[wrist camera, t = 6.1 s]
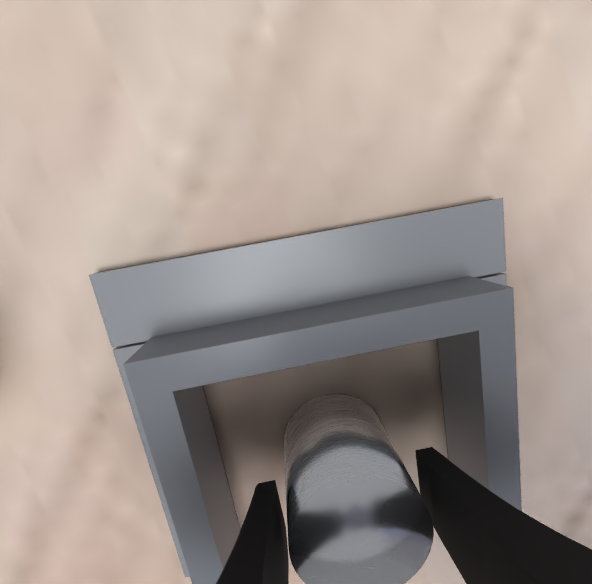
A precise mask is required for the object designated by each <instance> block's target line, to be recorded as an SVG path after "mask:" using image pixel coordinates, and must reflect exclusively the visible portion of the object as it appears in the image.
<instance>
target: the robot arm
mask: <svg viewBox="0 0 592 584" xmlns="http://www.w3.org/2000/svg"><path fill="white" fill-rule="evenodd" d="M415 451H416V460H417V469H418V477H419V486H420V494H421V497H422V499H423V501H424V503H425V505H426V507H427V508H428V510H429V512H430V515H431V518H432V522H433V526H434V528H435V530H436V532H437V533H438V535H439V537H440V539H441V540H442V542H443V544H444V546H445V547H446V549H447V551H448V553H449V554H450V556H451V558H452V560H453V561H454V563H455V565H456V566H457V568H458V570H459V572H460V573H461V575H462V577H463V578H464V580H465V582H466V584H592V550H591V549H589V548H587V547H585V546H583V545H581V544H579V543H577V542H575V541H573V540H571V539H569V538H567V537H566V536H564V535H562V534H560V533H558V532H556V531H554V530H553V529H551V528H549V527H547V526H546V525H544V524H542V523H540V522H539V521H537V520H535V519H533V518H532V517H530V516H528V515H526V514H525V513H523V512H522V511H520V510H518V509H517V508H515V507H514V506H512V505H511V504H509V503H508V502H506V501H504V500H503V499H501V498H500V497H498V496H497V495H496V494H494V493H493V492H491V491H490V490H488V489H487V488H486V487H484V486H483V485H481V484H480V483H479V482H477V481H476V480H474V479H473V478H472V477H470V476H469V475H468V474H466V473H465V472H464V471H462V470H461V469H460V468H458V467H457V466H456V465H455V464H453V463H452V462H451V461H449V460H448V459H447V458H446V457H444V456H443V455H442V454H440V453H439V452H438V451H437V450H435V449H434V448H432V447H430V448H425V449H420V450H415ZM216 584H288V549H287V537H286V526H285V522H284V517H283V513H282V509H281V504H280V500H279V495H278V491H277V487H276V482H275V480H273V481H269V482H264V483H259V484H258V485H257V486H256V488H255V491H254V495H253V498H252V501H251V504H250V507H249V510H248V512H247V515H246V518H245V520H244V523H243V525H242V528H241V530H240V533H239V535H238V538H237V540H236V542H235V545H234V547H233V549H232V551H231V553H230V556H229V558H228V560H227V562H226V564H225V566H224V568H223V571H222V573H221V575H220V576H219V578H218V580H217V582H216Z"/></svg>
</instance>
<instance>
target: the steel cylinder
mask: <svg viewBox="0 0 592 584" xmlns="http://www.w3.org/2000/svg"><path fill="white" fill-rule="evenodd" d="M284 458H285V480H286V501H287V522H288V543H289V554H290V559H291V562H292V565H293V567H294V569H295V571H296V573H297V574H298V575H299V577H300V578H301V579H302V580H303V581H304V582H305V583H306V584H404V583H406V582H407V581H408V580H409V579H411V578H412V577H413V576H414V575H415V574H416V573H417V572H418V570H419V569H420V568H421V567H422V565H423V564H424V562H425V560H426V559H427V557H428V555H429V552H430V550H431V546H432V542H433V535H434V533H433V522H432V518H431V515H430V512H429V510H428V508H427V507H426V505H425V503H424V501H423V499H422V497H421V495H420V494H419V492H418V490H417V488H416V486H415V484H414V483H413V481H412V479H411V477H410V475H409V473H408V472H407V470H406V468H405V466H404V464H403V462H402V461H401V459H400V457H399V455H398V453H397V451H396V449H395V448H394V446H393V444H392V442H391V440H390V438H389V437H388V435H387V433H386V431H385V429H384V427H383V426H382V424H381V422H380V420H379V418H378V416H377V415H376V413H375V412H374V410H373V409H372V408H371V407H370V406H369V405H368V404H367V403H365V402H364V401H362V400H360V399H358V398H356V397H353V396H350V395H346V394H328V395H323V396H319V397H317V398H314V399H312V400H310V401H308V402H307V403H305V404H304V405H302V406H301V407H300V408H299V409H298V410H297V411H296V412H295V413H294V414H293V416H292V417H291V419H290V420H289V422H288V424H287V427H286V430H285V434H284Z"/></svg>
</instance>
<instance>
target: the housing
mask: <svg viewBox="0 0 592 584" xmlns="http://www.w3.org/2000/svg"><path fill="white" fill-rule="evenodd" d="M505 271H506V259H505V236H504V212H503V198H501V199H492V200H486V201H481V202H476V203H470V204H465V205H460V206H454V207H449V208H443V209H438V210H433V211H427V212H422V213H416V214H411V215H406V216H400V217H395V218H389V219H384V220H379V221H373V222H368V223H362V224H357V225H352V226H346V227H341V228H336V229H330V230H325V231H319V232H314V233H309V234H303V235H298V236H292V237H287V238H282V239H276V240H271V241H265V242H260V243H255V244H249V245H244V246H238V247H233V248H228V249H222V250H217V251H212V252H206V253H201V254H195V255H190V256H185V257H179V258H174V259H168V260H163V261H158V262H152V263H147V264H141V265H136V266H131V267H125V268H120V269H115V270H109V271H104V272H98V273H95V274H91V275H89V277H90V280H91V283H92V286H93V290H94V293H95V296H96V299H97V302H98V305H99V308H100V312H101V315H102V318H103V321H104V324H105V327H106V330H107V333H108V337H109V340H110V343H111V346H112V348H113V347H116V348H115V349H114V350H113V352H114V355H115V358H116V362H117V365H118V368H119V371H120V374H121V377H122V380H123V384H124V387H125V390H126V393H127V396H128V399H129V402H130V405H131V409H132V412H133V415H134V418H135V421H136V424H137V427H138V431H139V434H140V437H141V440H142V443H143V446H144V449H145V452H146V456H147V459H148V462H149V465H150V468H151V471H152V474H153V478H154V481H155V484H156V487H157V490H158V493H159V496H160V499H161V503H162V506H163V509H164V512H165V515H166V518H167V521H168V525H169V528H170V531H171V534H172V537H173V540H174V543H175V546H176V550H177V553H178V556H179V559H180V562H181V565H182V568H183V571H184V575H185V577H190V578H191V581H192V584H216V582H217V580H218V578H219V576H220V575H221V573H222V571H223V568H224V566H225V564H226V562H227V560H228V558H229V556H230V553H231V551H232V549H233V547H234V545H235V542H236V540H237V538H238V535H239V533H240V527H239V523H238V519H237V515H236V511H235V508H234V504H233V500H232V496H231V492H230V489H229V485H228V481H227V477H226V473H225V470H224V466H223V462H222V458H221V454H220V451H219V447H218V443H217V439H216V435H215V432H214V428H213V424H212V420H211V416H210V413H209V409H208V405H207V401H206V397H205V394H204V390H203V386H202V385H207V384H212V383H218V382H223V381H228V380H233V379H238V378H243V377H248V376H253V375H258V374H263V373H268V372H273V371H278V370H283V369H288V368H293V367H298V366H303V365H308V364H313V363H318V362H323V361H328V360H333V359H338V358H343V357H348V356H353V355H358V354H363V353H368V352H373V351H378V350H383V349H388V348H393V347H398V346H403V345H408V344H413V343H418V342H423V341H428V340H433V339H437V342H438V353H439V364H440V375H441V386H442V397H443V408H444V419H445V429H446V440H447V451H448V460H449V461H451V462H452V463H453V464H455V465H456V466H457V467H458V468H460V469H461V470H462V471H464V472H465V473H466V474H468V475H469V476H470V477H472V478H473V479H474V480H476V481H477V482H479V483H480V484H481V485H483V486H484V487H486V488H487V489H488V490H490V491H491V492H493V493H494V494H496V495H497V496H498V497H500V498H501V499H503V500H504V501H506V502H508V503H509V504H511V505H512V506H514V507H515V508H517V509H518V510H520V511H521V485H520V458H519V432H518V405H517V379H516V352H515V326H514V299H513V288H512V287H508V286H507V283H506V274H504V273H500V272H505Z"/></svg>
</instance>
